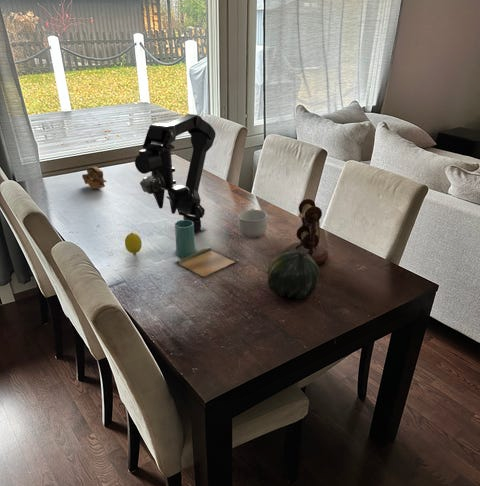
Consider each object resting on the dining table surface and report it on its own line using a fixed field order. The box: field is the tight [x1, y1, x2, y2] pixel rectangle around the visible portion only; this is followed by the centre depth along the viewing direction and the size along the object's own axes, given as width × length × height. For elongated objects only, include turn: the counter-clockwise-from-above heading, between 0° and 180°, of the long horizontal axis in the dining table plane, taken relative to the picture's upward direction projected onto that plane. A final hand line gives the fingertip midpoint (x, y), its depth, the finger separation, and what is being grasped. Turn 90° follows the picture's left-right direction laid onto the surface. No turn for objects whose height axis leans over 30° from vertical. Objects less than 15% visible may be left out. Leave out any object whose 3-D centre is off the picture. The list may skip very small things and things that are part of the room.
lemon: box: [124, 232, 143, 255], centre depth 148 cm, size 6×6×8 cm
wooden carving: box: [81, 166, 107, 190], centre depth 205 cm, size 16×5×10 cm, turn 55°
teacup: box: [237, 207, 269, 238], centre depth 164 cm, size 14×11×8 cm
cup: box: [174, 219, 196, 258], centre depth 148 cm, size 6×6×11 cm
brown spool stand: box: [283, 198, 329, 265], centre depth 143 cm, size 15×15×20 cm
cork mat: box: [176, 246, 236, 278], centre depth 144 cm, size 13×14×1 cm
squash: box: [267, 251, 320, 300], centre depth 126 cm, size 14×15×15 cm
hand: (167, 210), depth 149 cm, fingers open, 7 cm apart
